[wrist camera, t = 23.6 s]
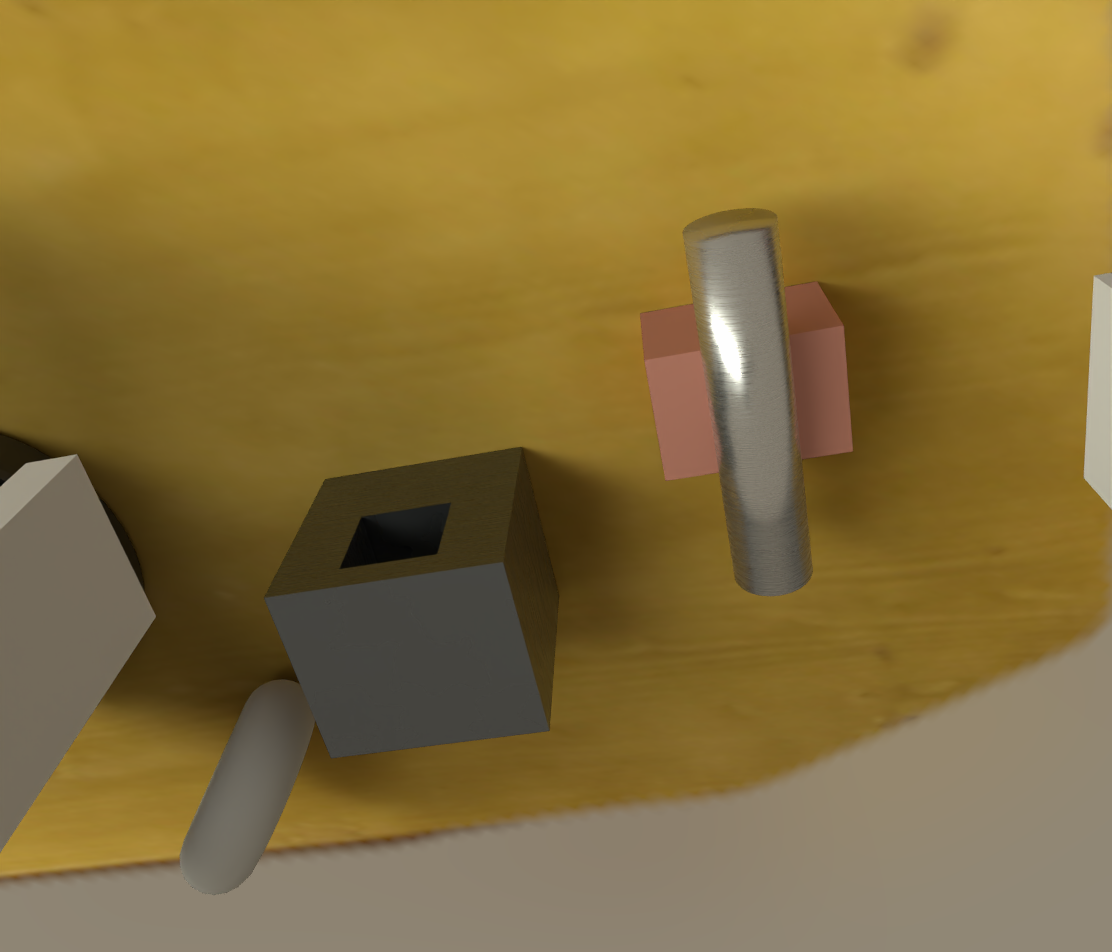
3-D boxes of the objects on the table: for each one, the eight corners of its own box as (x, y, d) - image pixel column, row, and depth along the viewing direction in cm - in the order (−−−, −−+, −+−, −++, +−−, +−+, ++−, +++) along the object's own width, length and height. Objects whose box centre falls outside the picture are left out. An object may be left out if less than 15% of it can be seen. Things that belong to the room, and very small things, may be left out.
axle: (725, 559, 40) (746, 603, 37) (673, 223, 33) (695, 249, 30) (797, 541, 40) (824, 584, 37) (760, 201, 33) (790, 226, 30)
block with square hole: (376, 622, 48) (331, 758, 40) (324, 479, 44) (263, 597, 36) (559, 596, 47) (549, 730, 39) (522, 446, 43) (502, 562, 35)
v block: (659, 424, 42) (665, 480, 38) (640, 313, 40) (644, 360, 35) (826, 396, 41) (852, 451, 37) (816, 281, 39) (843, 325, 34)
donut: (280, 783, 53) (216, 950, 45) (219, 760, 53) (142, 924, 44) (346, 654, 49) (289, 811, 40) (280, 627, 48) (208, 780, 39)
